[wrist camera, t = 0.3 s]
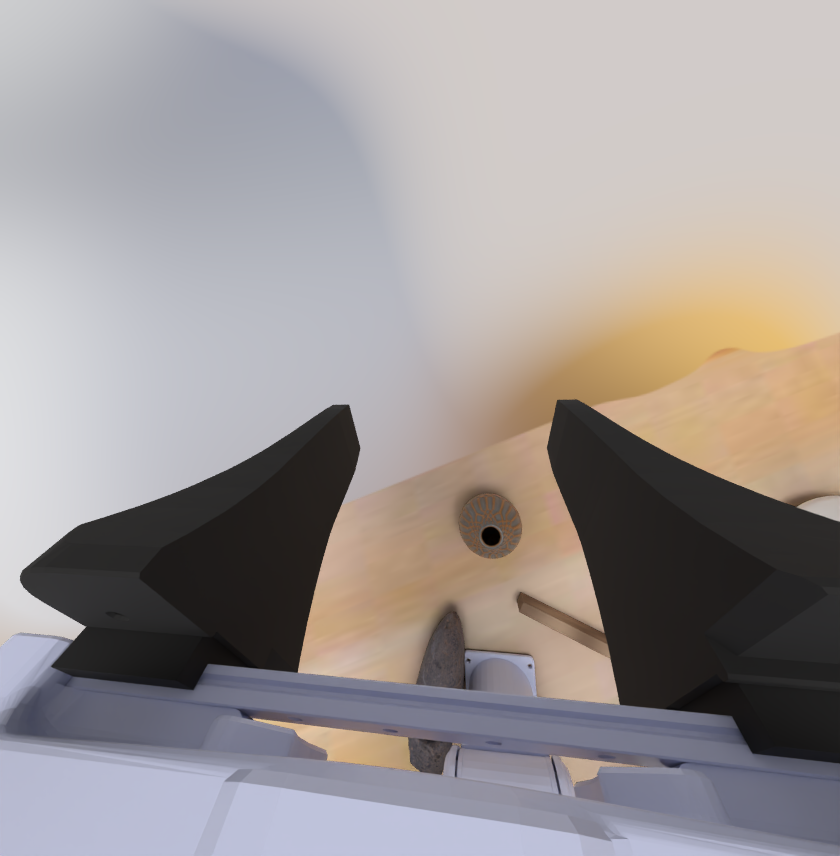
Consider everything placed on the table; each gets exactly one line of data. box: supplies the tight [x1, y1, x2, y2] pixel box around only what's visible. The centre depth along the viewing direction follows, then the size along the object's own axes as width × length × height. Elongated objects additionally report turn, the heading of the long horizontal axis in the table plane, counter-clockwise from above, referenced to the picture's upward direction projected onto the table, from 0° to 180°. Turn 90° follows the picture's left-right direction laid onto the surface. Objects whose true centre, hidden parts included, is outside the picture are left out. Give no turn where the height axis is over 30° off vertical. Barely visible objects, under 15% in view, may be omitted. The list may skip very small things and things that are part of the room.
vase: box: [459, 493, 522, 559], centre depth 33 cm, size 7×7×9 cm
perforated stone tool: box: [408, 612, 465, 775], centre depth 33 cm, size 15×5×7 cm, turn 166°
